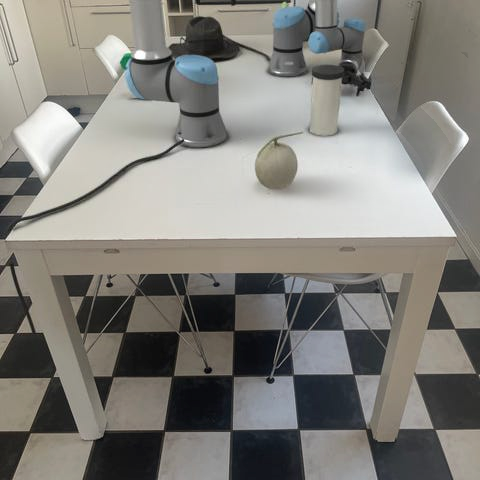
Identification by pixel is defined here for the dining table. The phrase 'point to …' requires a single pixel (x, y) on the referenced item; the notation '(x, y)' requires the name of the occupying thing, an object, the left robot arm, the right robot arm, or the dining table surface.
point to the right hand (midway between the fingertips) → (336, 90)
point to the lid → (327, 72)
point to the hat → (204, 40)
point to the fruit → (276, 164)
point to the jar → (325, 106)
